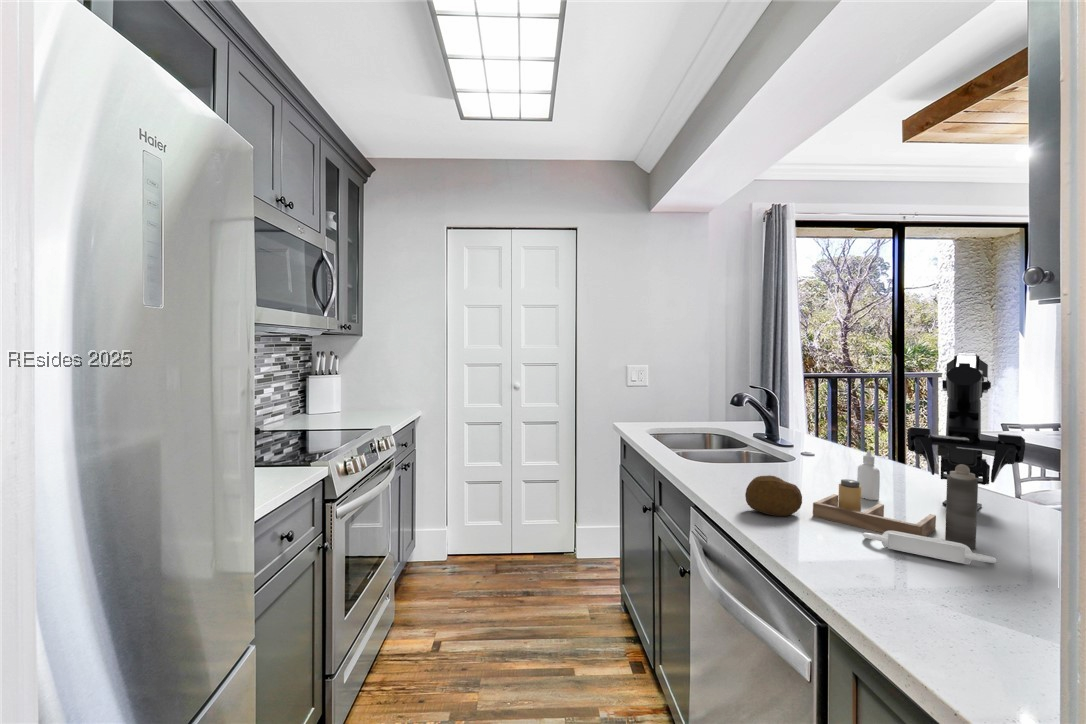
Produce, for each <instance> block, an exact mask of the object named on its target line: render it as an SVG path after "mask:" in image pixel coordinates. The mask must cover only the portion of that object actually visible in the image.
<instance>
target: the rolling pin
mask: <svg viewBox="0 0 1086 724" xmlns="http://www.w3.org/2000/svg"><path fill="white" fill-rule="evenodd" d="M862 537H863V538H865V539H869V540H874V541H878V542H881V544H882V547H884V548H885V547H888V548H887V549H890V550H895V551H899V552H904V553H909V554H915V555H919V556H923V557H928V558H929V557H930V558H933V559H939V560H943V561H949V562H953V563H958V564H964V565H970V564H971V563H972V562H973V561H978V562H984V563H989V564H990V563H991V564H995V563H996V562H997V559H996V558H995V557H994V556H990V555H985V554H980V553H977V552H973V550H971V549H970V548H969V547H968V546H966V545H964V544H961V543H957V542H951V541H946V540H945V539H939V538H934V537H931V536H930V537H929V536H927V537H924V536H919V535H914V534H908V533H903V532H898V531H886V532H884V533H881V534H878V533H871V532H863V533H862Z"/></svg>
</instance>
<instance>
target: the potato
mask: <svg viewBox="0 0 1086 724" xmlns="http://www.w3.org/2000/svg"><path fill="white" fill-rule="evenodd" d="M744 496H745V502H746V504H747V505H748V506H749V508H751V509H752V510H754V511H757V512H759V513H763V514H765V515H770V516H776V517H786V516H787V517H789V516H790V515H791V516H792V515H793V514H795V513H796V512H798V511H799V509H801V507H802V504H803V494H802V492H801V490H800V488H799V487H798V486H797V484H794V483H790V482H788V481H786V480H783V479H782V478H780V477H778V476H775V475H771V474H770V475H759V476H756V477H754V478H753V479H752V480H751V481H750V482H749V483H748V485H747V487H746V489H745V495H744Z"/></svg>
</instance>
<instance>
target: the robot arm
mask: <svg viewBox="0 0 1086 724" xmlns="http://www.w3.org/2000/svg"><path fill="white" fill-rule="evenodd" d="M980 356H981V355H980V354H977V353H963V352H962V353H957V354H956V353H955V354H954V355H953V357H954V358H953V359H952V360H951V361H949V362H947V363H946V367H945V368H946V369H945V370H946V371H945V375H944V376H943V377H942V381H941V382H942V390H943V392H946V395H947V396H946V397H947V400H946V401H947V402H946V403H947V404H946V405H947V406H946V422H945V423H946V425H945V435H944V434H931V428H930V427H920V426H919V427H918V426H910V427H909V428H908V429H907V433H906V436H907V437H906V438H907V450H908V451H910V452H913V453H915V454H916V455H920V456H922V457H923V458H924V460H925V462H926V464H927V467H928V468H929V471H930V474H931V475H932V476H934V475H935V471H936V469H935V468H936V467H935V457H934V449H933V448H934V447H933V446H937V457H939V456H940V480H946V481H947V476H950V471H955V468H956V466H957V465H960V464H963V465H966V466H968V467H969V469H970V473H973V474H975V479H977V480H978V485H982V486H986V485H989V484H990V482H991V483H992V484H993V483H995V481H996V479H997V477H998V476H999V474H1000V472H1001V470H1002V469H1003V468H1004V467H1005V466H1006V465H1014V464H1020V463H1023V462H1024V458H1025V450H1026V439H1025V438H1024V437H1022V435H1015V434H1006V433H1004V434H1001V433H998V434H997V441H996V440H988V439H987V440H985V439H982V432H981V431H982V425H981V424H982V423H981V422H982V416H981V415H982V410H981V409H982V401H981V398H983V394H987V393H988V392H989V390H990V389H991V388H992V382H991V381H989V379H988V377H989V375H988V373H989V371H988V370H989V365H988V363H986V362H984V361H983V360H982V359H980ZM983 452H993V453H994V456H993V461H992V468H991V465H990V464H989V463H988V462H987V459H986V458H983ZM990 468H991V469H990ZM990 471H991V473H990ZM978 490H979V488H978V489H977V511H978V510H979V509H980V508H981V507H983V505H982V503H979V502H978V496H979V494H978V493H979V491H978ZM941 504H942V505H943V506H946V499H945V500H944V501H943V502H942V503H941Z"/></svg>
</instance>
